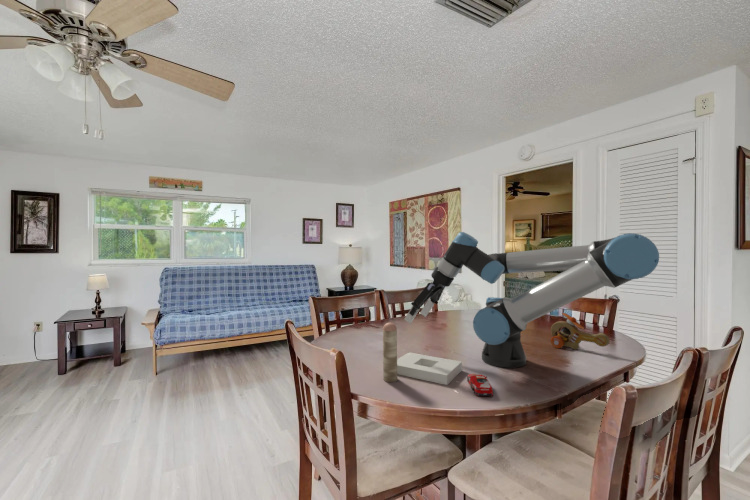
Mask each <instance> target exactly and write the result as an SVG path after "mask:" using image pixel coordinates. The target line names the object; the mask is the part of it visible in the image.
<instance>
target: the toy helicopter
mask: <svg viewBox="0 0 750 500" xmlns="http://www.w3.org/2000/svg"><path fill="white" fill-rule="evenodd" d="M561 314H562V316H564V317H566V318H567V319H566V321H565V320H560V321H559V320H558V321H556V322H554V323H552V325H551V327H550V334H551V336H552V337H550V345H551V346H552V347H553V348H555V349H561V348H563V347H569V348H571V349H572V350H578V349H579V347H580V343H581V342H582V341H583V342H589V343H594V344H596V345H598V346H599V347H606V346H608V345H609V344H610V342H611V341H610V339H611V338H609V336H608V335H607V334H605V333H604V332H599V333H597V334H596V333H595V334H594V333H591V332H586V331H581V330H580V329H582V330H585V327H584V326H582V324H581V323H579V322H578V321H577V318H576V317H574V316H570V315H569V314H568V313H564V312H562V313H561Z"/></svg>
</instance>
